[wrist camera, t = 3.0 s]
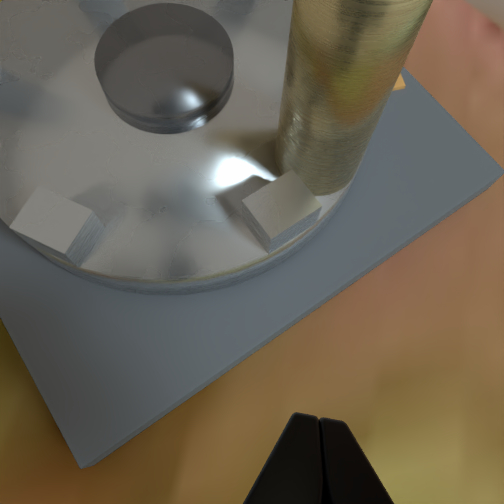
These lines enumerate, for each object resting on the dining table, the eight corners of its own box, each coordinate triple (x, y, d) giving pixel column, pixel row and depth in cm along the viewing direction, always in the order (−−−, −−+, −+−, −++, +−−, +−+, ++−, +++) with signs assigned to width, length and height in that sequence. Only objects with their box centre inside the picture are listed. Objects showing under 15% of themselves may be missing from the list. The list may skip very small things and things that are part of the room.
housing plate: (488, 188, 22) (508, 169, 20) (93, 465, 17) (78, 469, 16) (238, -76, 27) (238, -107, 25) (-110, 88, 23) (-136, 63, 21)
